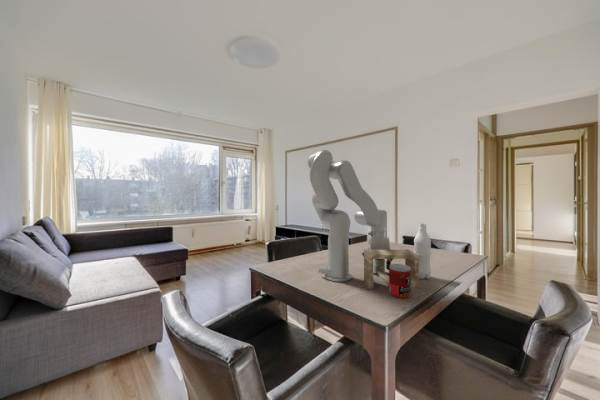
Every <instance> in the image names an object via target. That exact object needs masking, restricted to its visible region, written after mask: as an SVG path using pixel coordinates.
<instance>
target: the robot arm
mask: <svg viewBox="0 0 600 400" xmlns="http://www.w3.org/2000/svg"><path fill="white" fill-rule="evenodd" d="M333 159H334V158H333V154H332V153H331V152H330V150H329V149H328V150H327V149H321V150H319V151H317V152H314V153H313V154H310V156H309V157H308V159H307V166H308V167H309V170H310V171H309V180H310V184H311V186H312V189H313V192H314V193H313V196H312V199H311V201H312V204H313V208H314V210H315V211H316V214H317V215H318V218H319V220H320V221H321V223H322V225H323V226H324V227H326V228H328V229H329V232H328V236H327V237H328V238H327V251H328V252H327V253H328V254H327V257H328V258H327V259H328V260H327V264H328V265H327V266H326V267H325V268H322V267H321V268H318V273H321V274H324V277H325V279H326V280H328V281H330V282H331V281H332V282H337V283H338V282H341V283H342V282H348V281H351V280H352V279H353V274H352V273H350V271H349V270H350V267H349V263H350V261H349V259H350V257H349V256H350V255H349V250H350V249H349V247H350V246H349V244H350V243H349V241H350V240H349V239H350V238H349V235H350V228H351V218H350V215H349V214H348V213H347V212H345V211H343V210H339V209H336V208H337V207H338V206H339V203H340V202H339V197H338V195H337V193H336V191H335V188H334V186H333V184H332V181H331V179H333V180H338V182H339V184H340V187H341V189H342V191H343V193H344V195H345V196H346V198H348V199H349V200H350V201H351V202H354V203H355V204H356V205H357V206H358V207H359V210H357V211H355V213H354V215H353V216H354V221H355V222H356V223H357V224H359V225H362V226H368V227H370V231H369V232H367V234H368V236H369V239H368V246H367V249H366V250H391V242H390V237H388V212H387V210H385V209H378V206H377V204H376V202H375V201H374V199H373V198H372V197H371V196H370V195H369V193H368V192H367V191H366V190H365V189H363V186H362V185H361V182H360V180H359V178H358V176H357V174H356V172H355V169H354V167H353V165H352V163H351V162H350V161H349V160H338V161H334V160H333ZM361 255H362V256H363V258H364V251H363V252H361ZM393 260H394V259H386V260H385V263H386V267H385V270H386V269H387V271H389V265H391V263H392V261H393Z"/></svg>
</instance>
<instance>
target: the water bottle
mask: <svg viewBox="0 0 600 400" xmlns="http://www.w3.org/2000/svg"><path fill="white" fill-rule="evenodd" d="M417 229H418V231H417V233H416V234H415V237H414V239H413V243H414V244H413V246H414V247H413V252H414V253H416V254H418V255H419V280H425V279H427V280H428V279H429V278H431V275H432V268H431V255H432V250H431V249H432V241H431V238H430V235H428V232H427V224H426V223H419V224H418V228H417Z"/></svg>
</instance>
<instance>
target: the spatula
mask: <svg viewBox="0 0 600 400" xmlns="http://www.w3.org/2000/svg"><path fill="white" fill-rule="evenodd" d="M385 263H386V259H373V273H375V274H377V275H378V277H379V278H380V279H381V280H383V282H384V283H385V284H386V286H388V287H389V274H387V272H385V270H386V267H385Z"/></svg>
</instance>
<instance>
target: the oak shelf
mask: <svg viewBox="0 0 600 400" xmlns="http://www.w3.org/2000/svg"><path fill="white" fill-rule="evenodd" d="M363 252H364V257H363V281H364V283H365V284H366V286H367V288H368V289H369V290H374V259H384V260H387V259H393V260H396V259H397V260H401V259H403V260H405V261H404V265H406V266H409V267H410V268H411V288H413V289H415V290H419V288H420V287H419V285H420V284H419V283H420V281H419V280H420V278H419V255H418V254H416V253H414V251H412V250H410V249H390V250H367V249H363Z"/></svg>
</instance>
